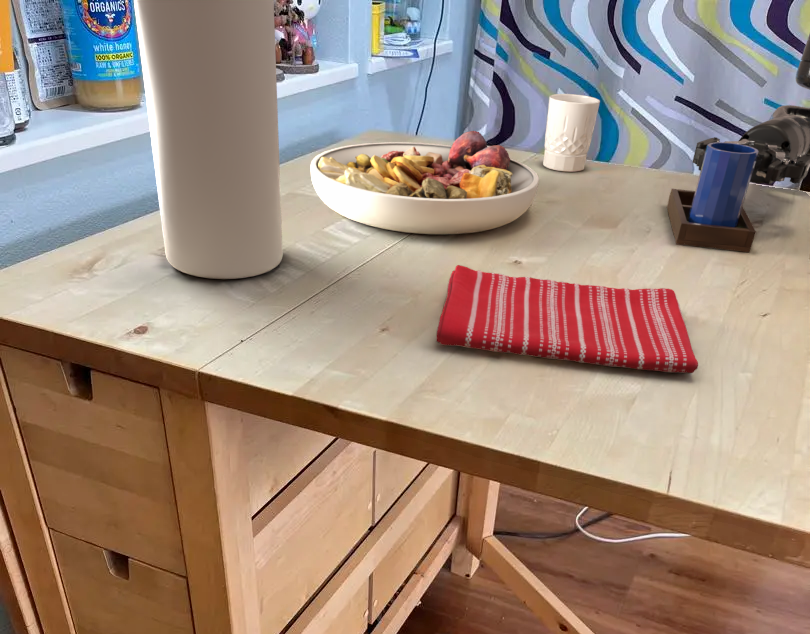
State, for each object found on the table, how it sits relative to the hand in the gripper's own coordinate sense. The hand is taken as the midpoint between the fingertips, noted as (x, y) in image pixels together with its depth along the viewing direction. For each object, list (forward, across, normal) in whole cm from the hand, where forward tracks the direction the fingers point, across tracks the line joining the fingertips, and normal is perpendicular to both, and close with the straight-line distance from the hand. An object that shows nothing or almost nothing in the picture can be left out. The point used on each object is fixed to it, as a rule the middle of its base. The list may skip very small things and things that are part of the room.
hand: (735, 168), depth 103 cm
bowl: (+20, -34, +8) cm, 40 cm away
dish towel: (+44, -1, +8) cm, 45 cm away
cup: (+3, 0, +7) cm, 8 cm away
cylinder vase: (+53, -38, +8) cm, 66 cm away
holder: (-1, -2, +8) cm, 8 cm away
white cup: (-17, -31, +8) cm, 36 cm away
